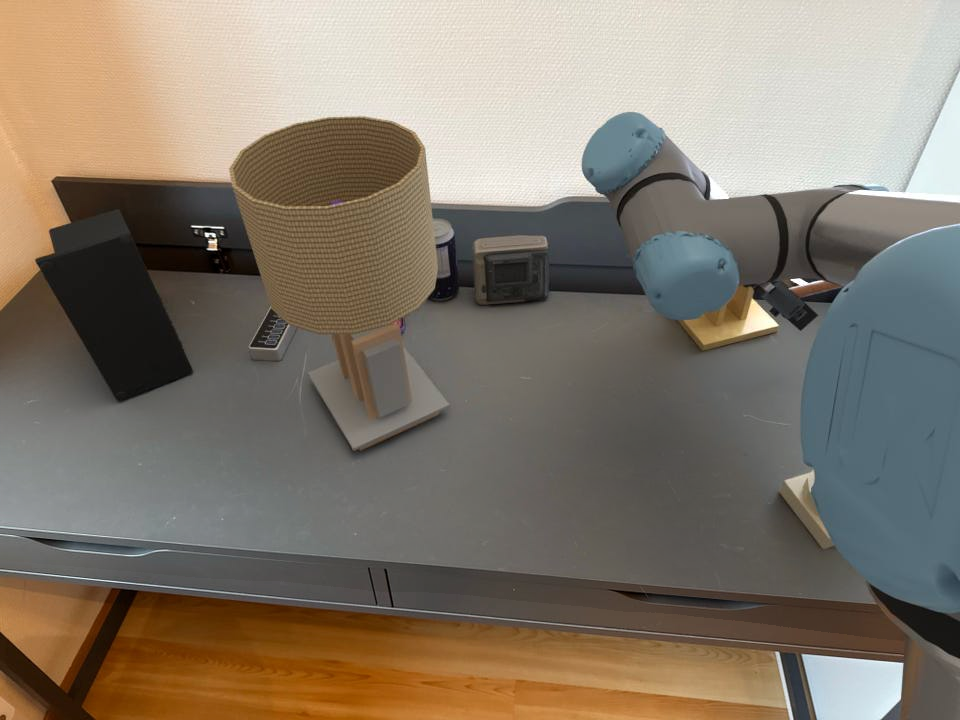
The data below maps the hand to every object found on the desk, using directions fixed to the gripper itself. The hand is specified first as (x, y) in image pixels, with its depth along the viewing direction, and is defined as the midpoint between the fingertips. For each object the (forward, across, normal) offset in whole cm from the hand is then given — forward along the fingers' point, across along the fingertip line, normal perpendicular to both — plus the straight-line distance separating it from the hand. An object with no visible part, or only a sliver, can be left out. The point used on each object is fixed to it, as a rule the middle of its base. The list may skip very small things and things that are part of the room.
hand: (800, 314), depth 86 cm
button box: (+4, +19, -13) cm, 24 cm away
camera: (-12, -30, -27) cm, 42 cm away
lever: (-1, -7, +1) cm, 7 cm away
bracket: (+7, -14, -8) cm, 17 cm away
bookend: (-52, -39, -66) cm, 93 cm away
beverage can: (-19, -35, -34) cm, 52 cm away
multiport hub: (-37, -35, -52) cm, 72 cm away
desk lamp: (-29, -15, -44) cm, 55 cm away
